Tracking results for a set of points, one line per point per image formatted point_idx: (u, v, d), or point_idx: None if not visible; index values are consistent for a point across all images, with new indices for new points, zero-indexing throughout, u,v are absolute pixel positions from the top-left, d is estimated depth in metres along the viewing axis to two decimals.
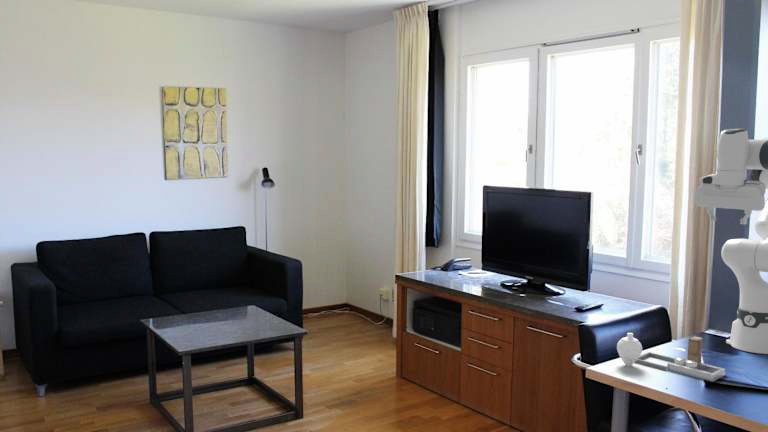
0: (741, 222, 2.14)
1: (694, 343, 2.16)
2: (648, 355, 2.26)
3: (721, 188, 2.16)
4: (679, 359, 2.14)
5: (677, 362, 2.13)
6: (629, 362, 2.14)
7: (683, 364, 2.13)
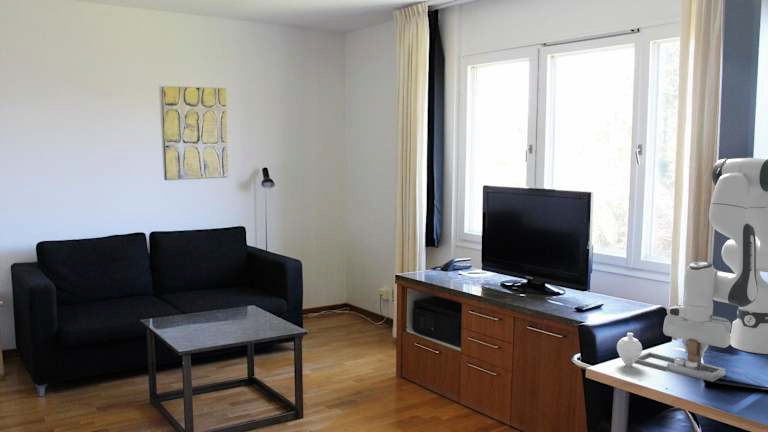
0: (698, 354, 2.17)
1: (694, 343, 2.16)
2: (648, 355, 2.26)
3: (688, 321, 2.17)
4: (679, 359, 2.14)
5: (677, 362, 2.13)
6: (629, 362, 2.14)
7: (683, 364, 2.13)
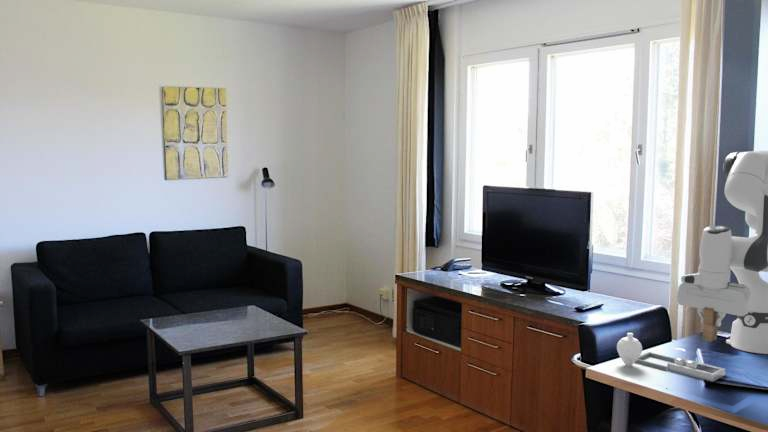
0: (715, 324, 2.05)
1: (710, 312, 2.04)
2: (648, 355, 2.26)
3: (703, 289, 2.05)
4: (679, 359, 2.14)
5: (677, 362, 2.13)
6: (629, 362, 2.14)
7: (683, 364, 2.13)
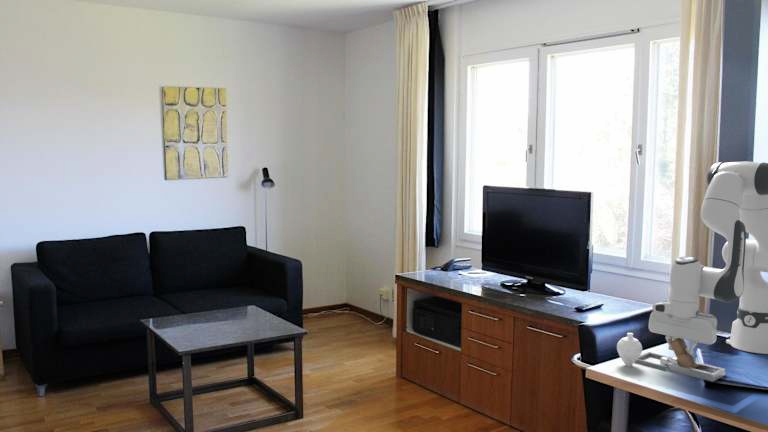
0: (687, 352, 2.11)
1: (676, 343, 2.12)
2: (648, 355, 2.26)
3: (673, 317, 2.12)
4: (665, 358, 2.17)
5: (663, 361, 2.17)
6: (629, 362, 2.14)
7: None
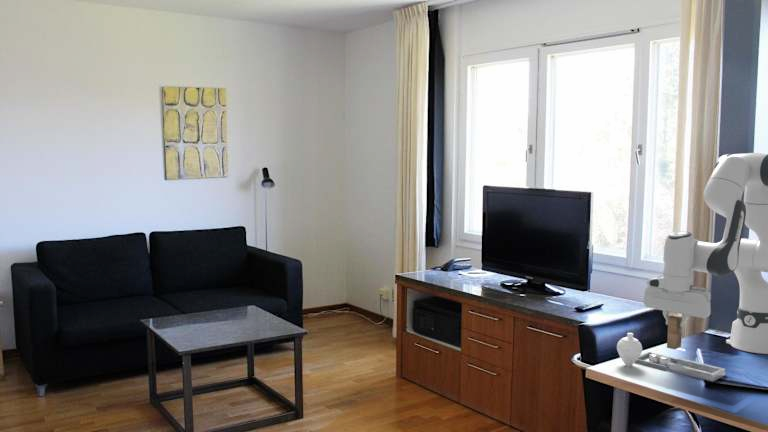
0: (679, 326, 2.13)
1: (674, 321, 2.13)
2: (648, 355, 2.26)
3: (668, 292, 2.13)
4: (653, 355, 2.20)
5: (651, 358, 2.20)
6: (629, 362, 2.14)
7: (657, 360, 2.19)
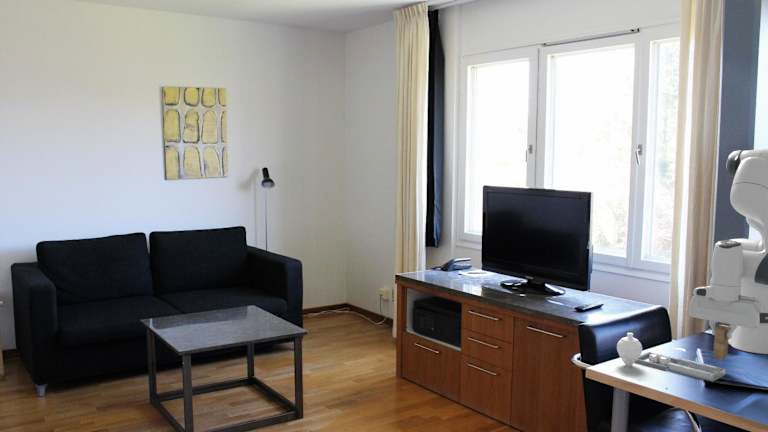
0: (726, 336, 2.10)
1: (721, 331, 2.10)
2: (648, 355, 2.26)
3: (715, 302, 2.10)
4: (653, 355, 2.20)
5: (651, 358, 2.20)
6: (629, 362, 2.14)
7: (657, 360, 2.19)
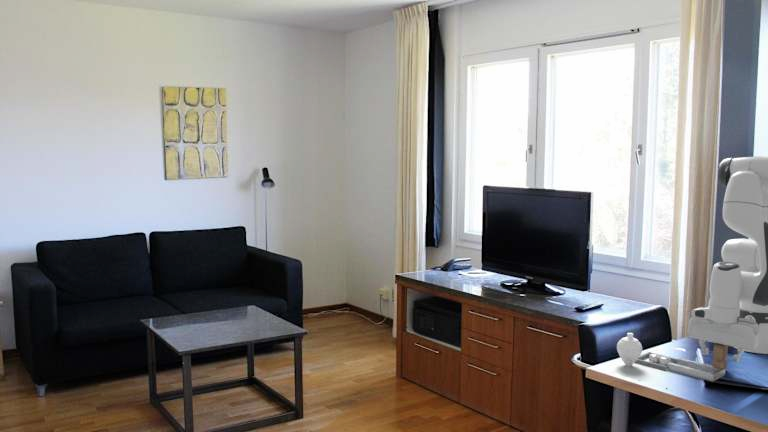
0: (734, 359, 2.09)
1: (719, 349, 2.10)
2: (648, 355, 2.26)
3: (714, 323, 2.11)
4: (653, 355, 2.20)
5: (651, 358, 2.20)
6: (629, 362, 2.14)
7: (657, 360, 2.19)
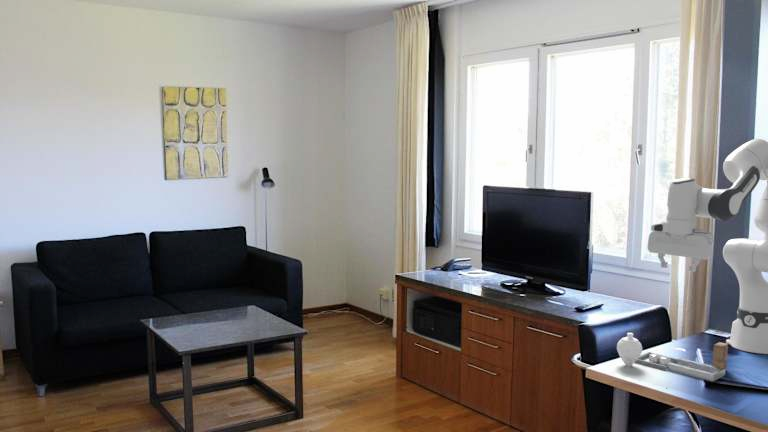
0: (690, 269, 2.19)
1: (719, 349, 2.10)
2: (648, 355, 2.26)
3: (671, 236, 2.22)
4: (653, 355, 2.20)
5: (651, 358, 2.20)
6: (629, 362, 2.14)
7: (657, 360, 2.19)
